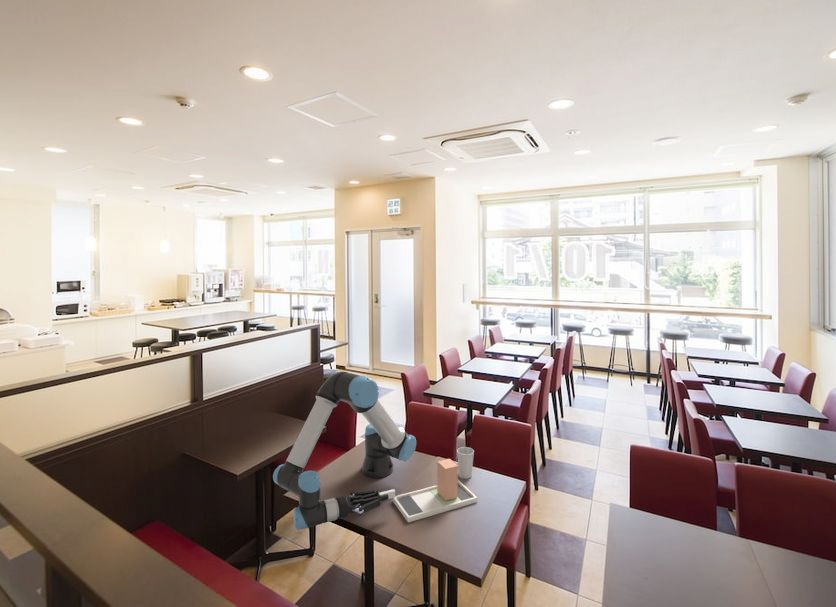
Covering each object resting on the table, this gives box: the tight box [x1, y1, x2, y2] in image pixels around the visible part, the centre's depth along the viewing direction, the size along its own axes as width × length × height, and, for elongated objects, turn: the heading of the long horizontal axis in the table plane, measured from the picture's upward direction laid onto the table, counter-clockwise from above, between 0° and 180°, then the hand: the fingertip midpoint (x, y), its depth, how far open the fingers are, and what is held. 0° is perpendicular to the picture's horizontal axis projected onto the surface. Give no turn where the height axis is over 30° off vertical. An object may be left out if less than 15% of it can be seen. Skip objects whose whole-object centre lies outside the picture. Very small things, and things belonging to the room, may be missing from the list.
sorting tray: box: [392, 479, 478, 523], centre depth 171 cm, size 16×32×2 cm, turn 116°
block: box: [436, 458, 459, 501], centre depth 172 cm, size 7×6×14 cm
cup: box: [456, 446, 475, 479], centre depth 192 cm, size 8×8×12 cm
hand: (394, 493), depth 162 cm, fingers closed
